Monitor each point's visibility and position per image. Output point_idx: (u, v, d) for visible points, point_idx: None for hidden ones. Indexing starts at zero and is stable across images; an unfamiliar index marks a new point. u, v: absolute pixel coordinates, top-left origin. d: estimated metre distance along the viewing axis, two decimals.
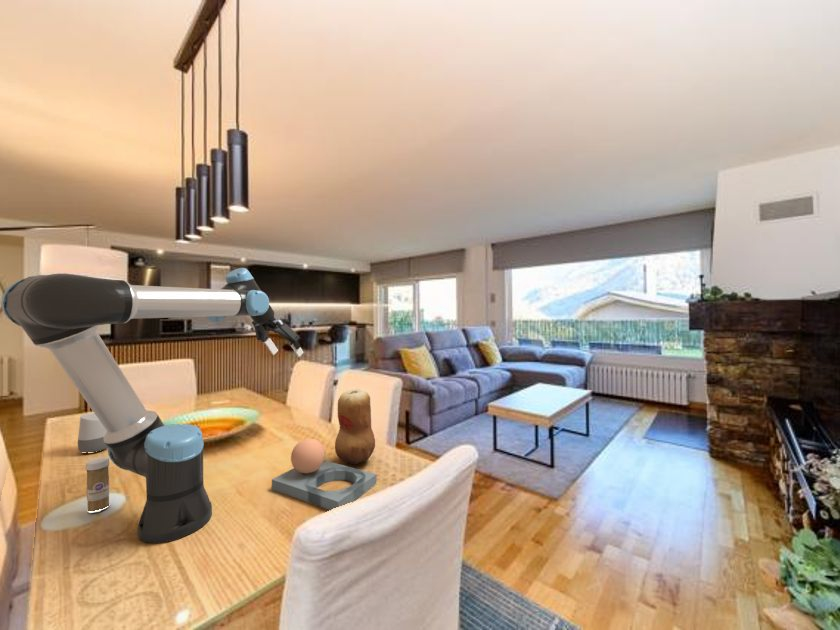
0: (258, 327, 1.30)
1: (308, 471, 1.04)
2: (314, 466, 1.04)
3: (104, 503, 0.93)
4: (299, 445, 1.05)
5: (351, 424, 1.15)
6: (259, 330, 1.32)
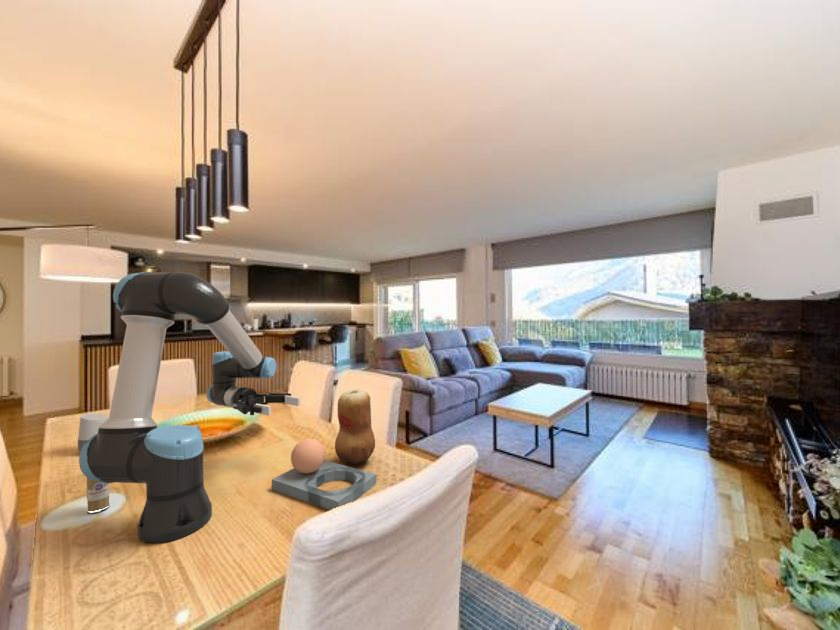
0: None
1: (308, 471, 1.04)
2: (314, 466, 1.04)
3: (104, 503, 0.93)
4: (299, 445, 1.05)
5: (351, 424, 1.15)
6: None
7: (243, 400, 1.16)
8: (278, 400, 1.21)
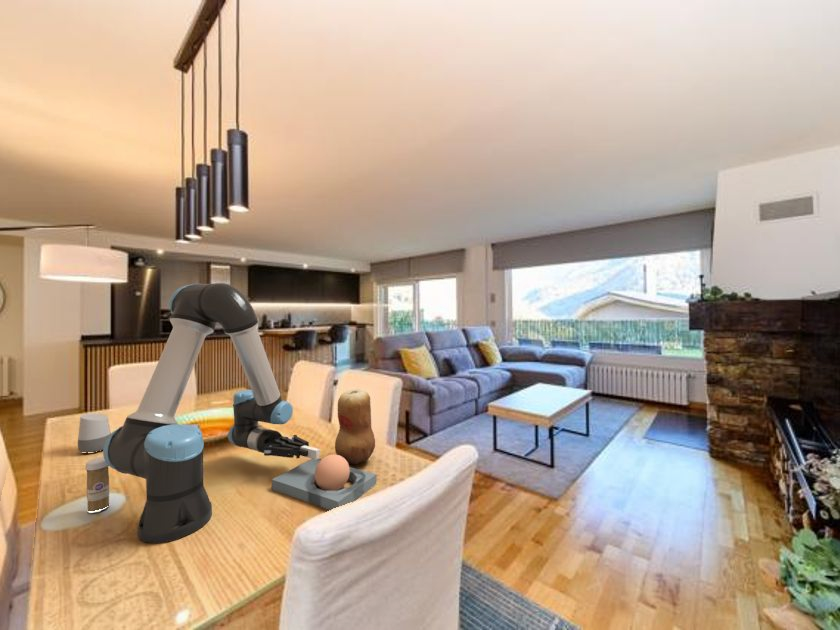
0: None
1: None
2: None
3: (104, 503, 0.93)
4: (343, 484, 1.01)
5: (351, 424, 1.15)
6: None
7: (271, 445, 1.12)
8: None
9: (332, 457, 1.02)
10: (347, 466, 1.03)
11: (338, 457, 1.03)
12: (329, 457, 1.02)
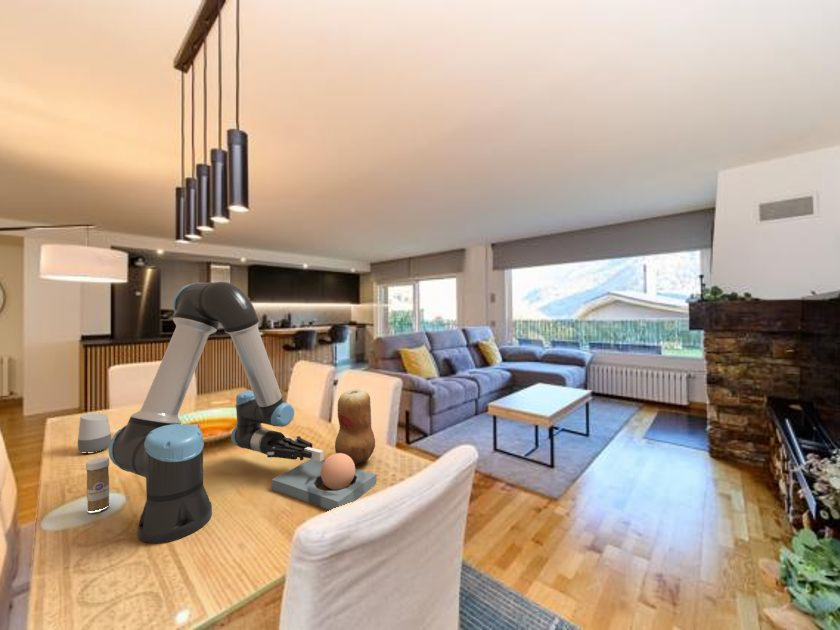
0: None
1: (321, 473, 1.02)
2: (321, 478, 1.03)
3: (104, 503, 0.93)
4: (346, 485, 1.01)
5: (351, 424, 1.15)
6: None
7: (274, 446, 1.10)
8: None
9: (343, 455, 1.04)
10: (354, 468, 1.04)
11: (348, 457, 1.05)
12: (340, 454, 1.04)
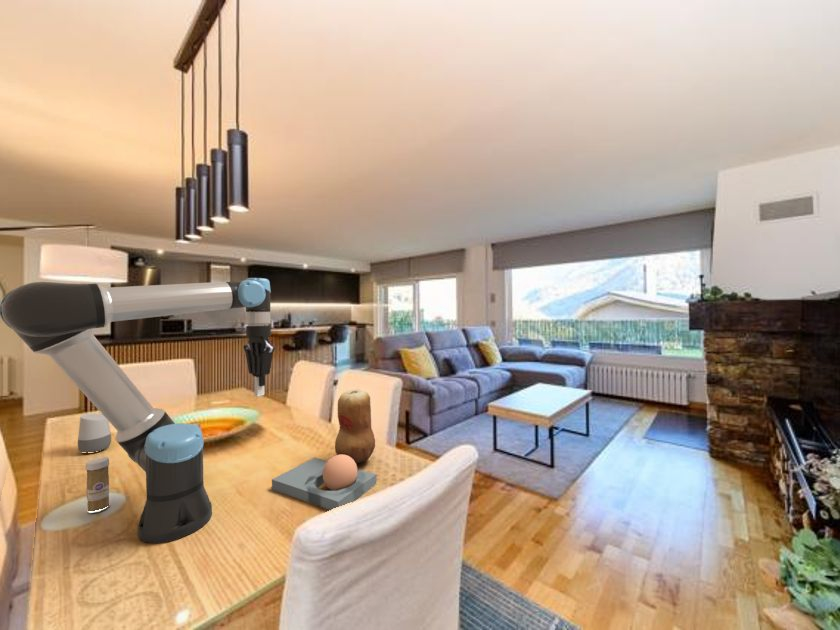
0: (250, 353, 1.18)
1: (323, 474, 1.00)
2: None
3: (104, 503, 0.93)
4: None
5: (351, 424, 1.15)
6: (251, 358, 1.18)
7: (250, 344, 1.17)
8: None
9: (347, 459, 1.02)
10: None
11: (352, 461, 1.03)
12: (345, 458, 1.02)
